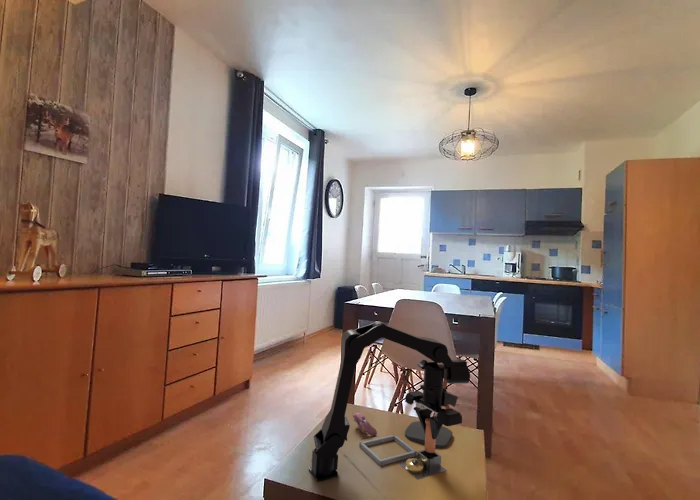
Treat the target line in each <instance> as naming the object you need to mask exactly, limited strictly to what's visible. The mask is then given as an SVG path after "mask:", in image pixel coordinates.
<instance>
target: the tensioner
mask: <svg viewBox="0 0 700 500" xmlns="http://www.w3.org/2000/svg"><path fill="white" fill-rule="evenodd" d="M397 463H398V465H399V466H401V467H402V468H404V470H406V471H407V472H408V473H409V474H411V476H413V477H414V478H415V479H416V480H421V479H423V478H424V479H425V478H427V477H430V476H433V475H436V474H440V473H443V472H447V471H448V469H447V468H445V467H443V466H442V465H441V464H442V455H440V454H439V453H437V452H436V451H435V452H434V453H429V452H426V451H425V448H424V449H420V450H418V451H417V456H414V457H410V458H407V459H404V460H400V461H397Z"/></svg>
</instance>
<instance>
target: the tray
mask: <svg viewBox="0 0 700 500" xmlns="http://www.w3.org/2000/svg"><path fill="white" fill-rule="evenodd" d="M391 441H394V442H395V443H397V444H398V445H399V446H401V447H402V448H403V449H405V450H406V451H407V452H404V453H401V454H396V455H392V456H389V457H385V458H380V457H379V456H378V455H377V454H375V452H373V451H372V449H370V448H369V446H373V445H374V446H375V445H377V444H378V445H379V444H381V443H386V442H391ZM358 446H359V448H360V449H362V451H364V453H366V454H367V455H368V456H369V457H370V459H372V460H373V461H374V462H375V463H377V465H378V466H384V465H388V464H391V463H394V462H400V461H404V460H408V459H411V458H415V457H417V452H418V451H416V450H415V449H414V448H412V447H411V446H410V445H409V444H407V443H406V442H405V441H403V440H402V439H401V438H399V436H397V435H396V434H391V435H387V436H382V437H378V438H377V437H376V438H374V439H369V440H364V441H359V445H358Z"/></svg>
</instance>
